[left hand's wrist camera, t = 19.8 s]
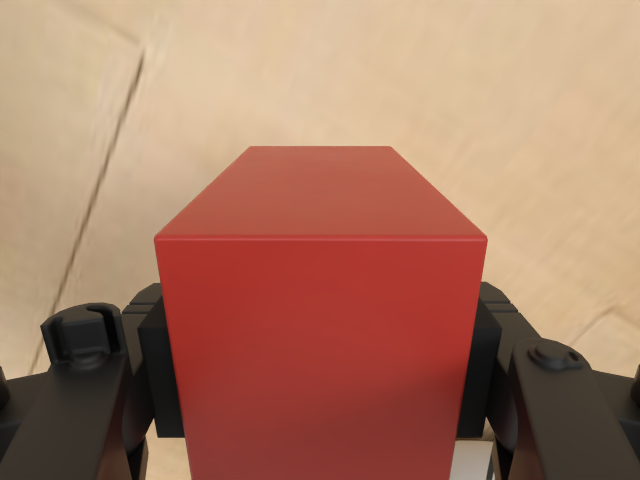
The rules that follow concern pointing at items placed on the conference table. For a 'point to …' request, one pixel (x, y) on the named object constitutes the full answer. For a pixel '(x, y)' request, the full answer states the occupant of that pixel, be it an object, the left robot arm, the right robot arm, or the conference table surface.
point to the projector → (471, 460)
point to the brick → (320, 317)
